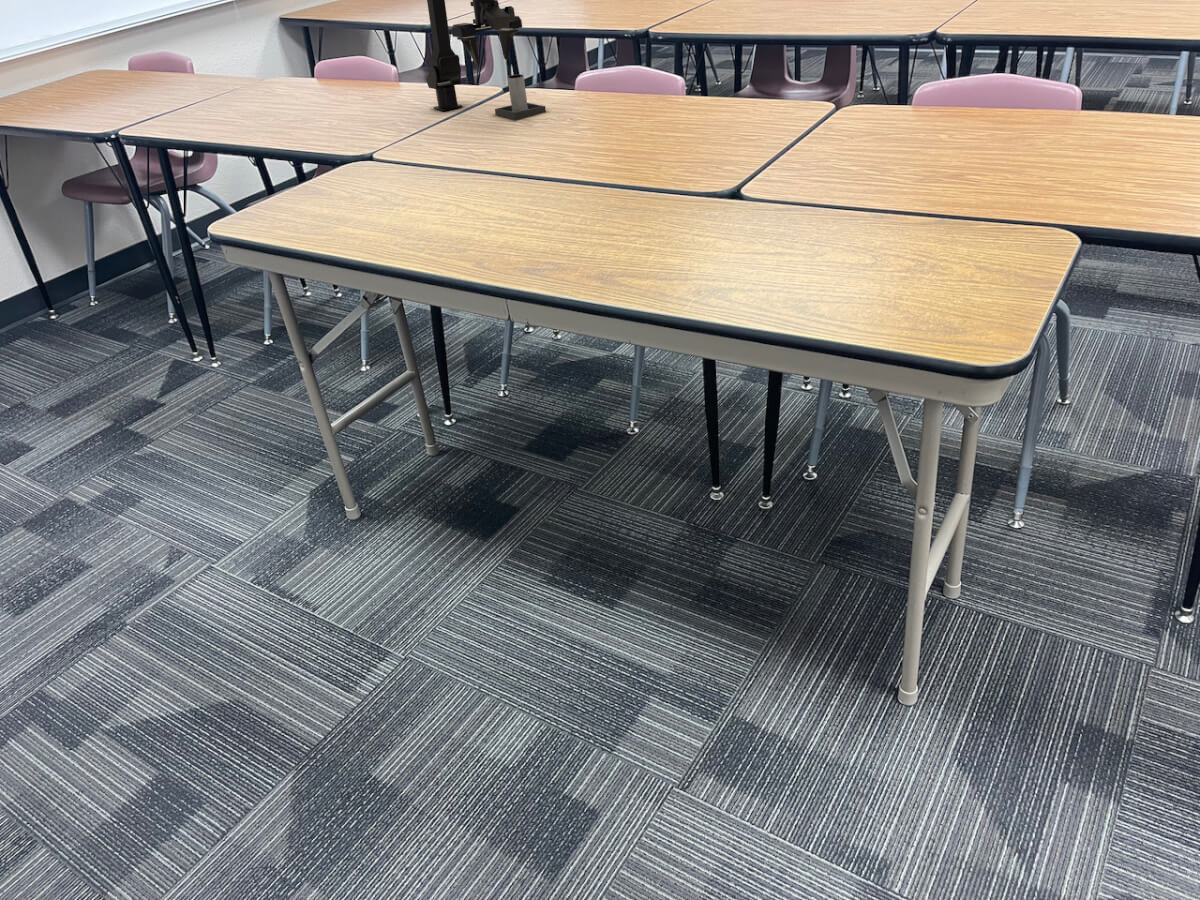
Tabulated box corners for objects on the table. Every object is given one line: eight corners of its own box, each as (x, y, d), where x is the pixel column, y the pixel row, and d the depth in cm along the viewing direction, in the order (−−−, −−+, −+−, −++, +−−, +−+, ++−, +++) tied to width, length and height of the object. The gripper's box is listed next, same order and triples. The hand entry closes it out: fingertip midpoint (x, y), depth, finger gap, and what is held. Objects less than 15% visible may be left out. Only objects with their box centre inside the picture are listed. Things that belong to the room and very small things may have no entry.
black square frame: (495, 116, 243) (494, 108, 242) (525, 109, 248) (524, 102, 247) (515, 120, 236) (514, 113, 235) (546, 113, 241) (545, 106, 240)
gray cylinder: (529, 111, 243) (524, 73, 237) (527, 116, 240) (522, 77, 234) (514, 112, 244) (509, 74, 238) (511, 117, 240) (506, 78, 234)
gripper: (468, 1, 209) (478, 70, 217) (530, -8, 218) (537, 58, 226) (445, 0, 216) (456, 67, 225) (506, -8, 225) (514, 55, 234)
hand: (491, 62), depth 227 cm, fingers open, 9 cm apart
